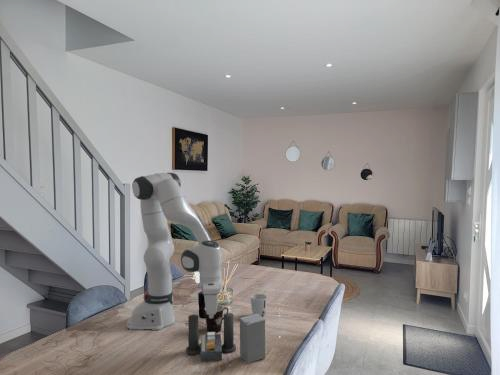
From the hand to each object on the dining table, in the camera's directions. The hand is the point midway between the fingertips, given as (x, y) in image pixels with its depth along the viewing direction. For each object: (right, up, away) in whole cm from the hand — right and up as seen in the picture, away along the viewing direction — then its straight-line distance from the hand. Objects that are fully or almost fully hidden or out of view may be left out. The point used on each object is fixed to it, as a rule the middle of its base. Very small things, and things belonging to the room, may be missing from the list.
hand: (211, 316), depth 134 cm
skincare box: (+16, -15, -4) cm, 22 cm away
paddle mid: (0, -11, 0) cm, 11 cm away
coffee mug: (0, -14, +20) cm, 24 cm away
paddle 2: (0, -11, -4) cm, 11 cm away
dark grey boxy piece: (0, -14, +1) cm, 14 cm away
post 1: (-7, -14, +1) cm, 16 cm away
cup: (+20, -13, +34) cm, 42 cm away
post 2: (+7, -14, +2) cm, 16 cm away
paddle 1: (-1, -10, +4) cm, 11 cm away
